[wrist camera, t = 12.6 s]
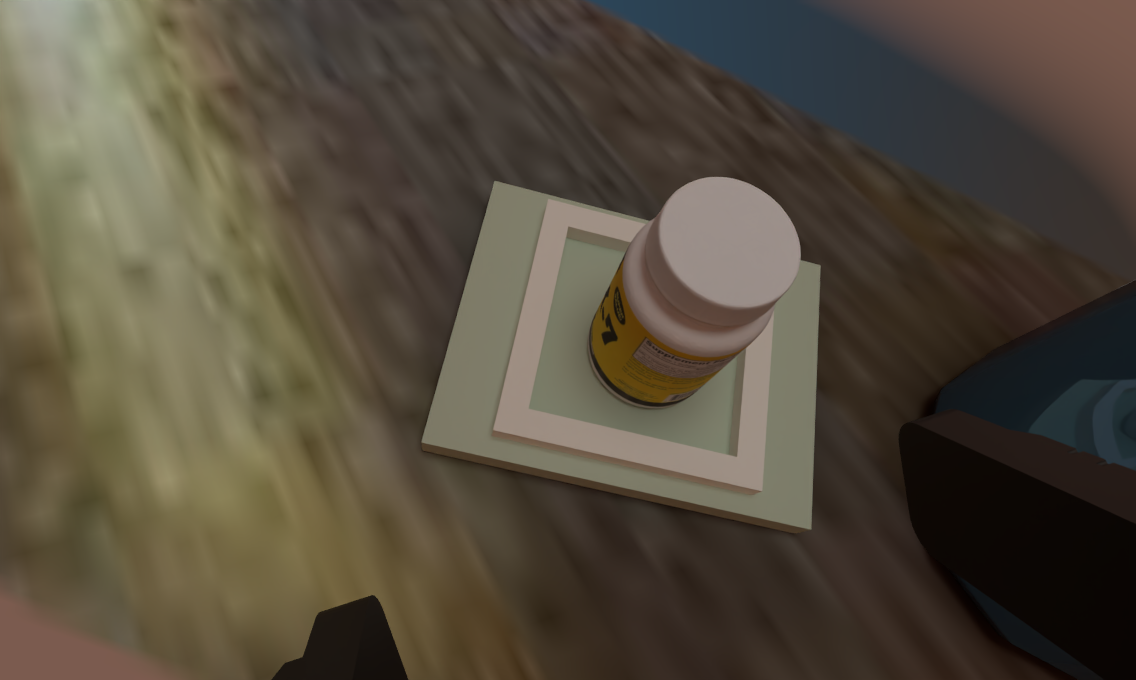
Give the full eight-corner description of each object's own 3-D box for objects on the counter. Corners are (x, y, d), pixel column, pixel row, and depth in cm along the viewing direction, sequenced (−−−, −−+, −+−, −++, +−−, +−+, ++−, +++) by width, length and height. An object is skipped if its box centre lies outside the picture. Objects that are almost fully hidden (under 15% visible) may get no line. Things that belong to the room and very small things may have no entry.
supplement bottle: (603, 277, 26) (668, 138, 19) (717, 316, 26) (827, 195, 19) (569, 388, 24) (625, 285, 17) (692, 429, 25) (803, 345, 17)
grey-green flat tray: (422, 450, 24) (420, 436, 22) (492, 197, 28) (496, 168, 26) (794, 533, 25) (822, 526, 23) (806, 278, 29) (830, 255, 28)
